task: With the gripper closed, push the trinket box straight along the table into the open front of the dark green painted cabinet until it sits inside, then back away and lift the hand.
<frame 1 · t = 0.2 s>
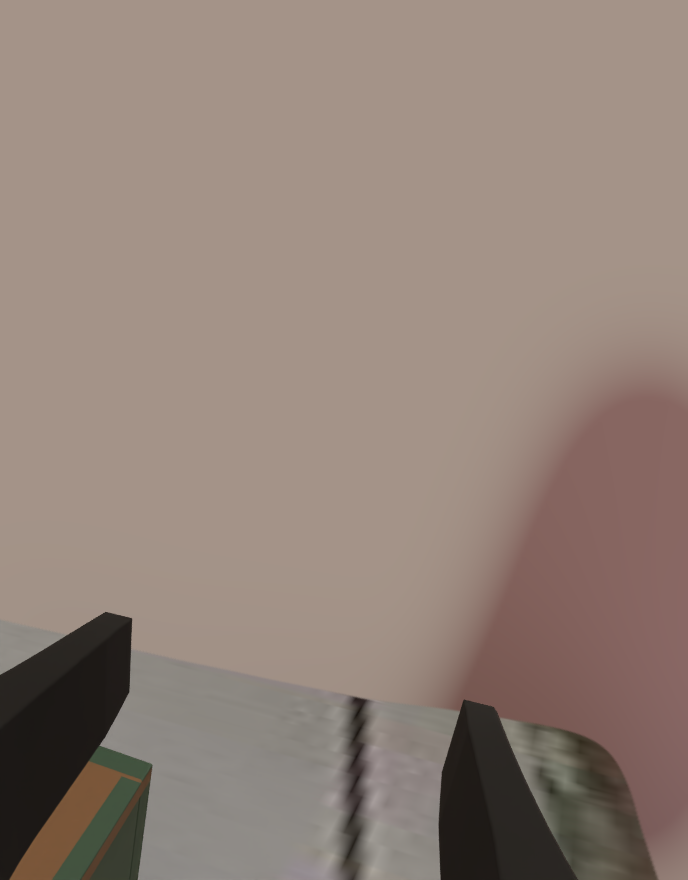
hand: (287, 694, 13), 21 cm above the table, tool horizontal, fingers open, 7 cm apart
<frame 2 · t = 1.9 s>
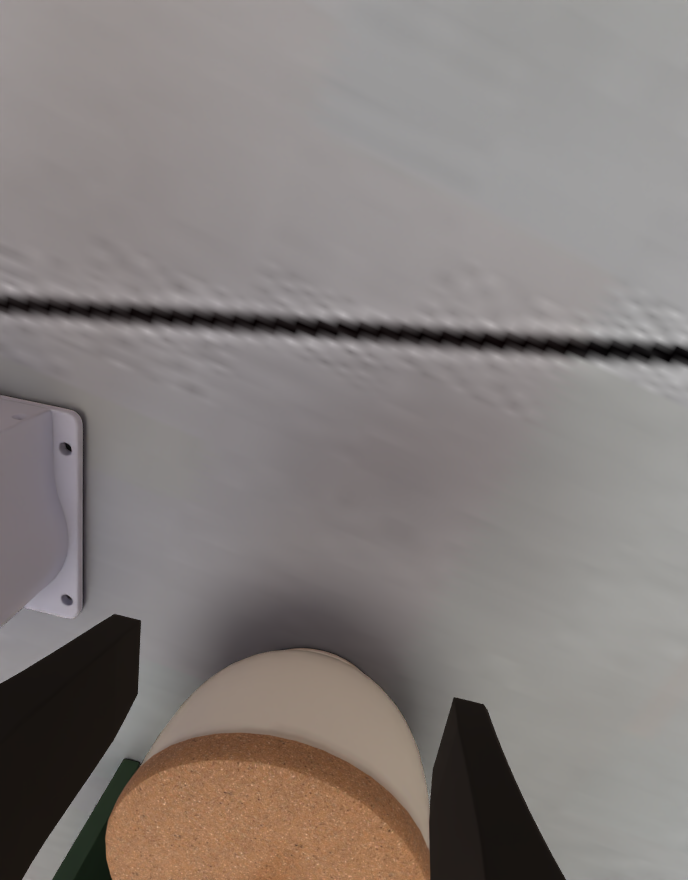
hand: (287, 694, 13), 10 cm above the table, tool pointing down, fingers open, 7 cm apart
trinket box: (312, 702, 26), on the table
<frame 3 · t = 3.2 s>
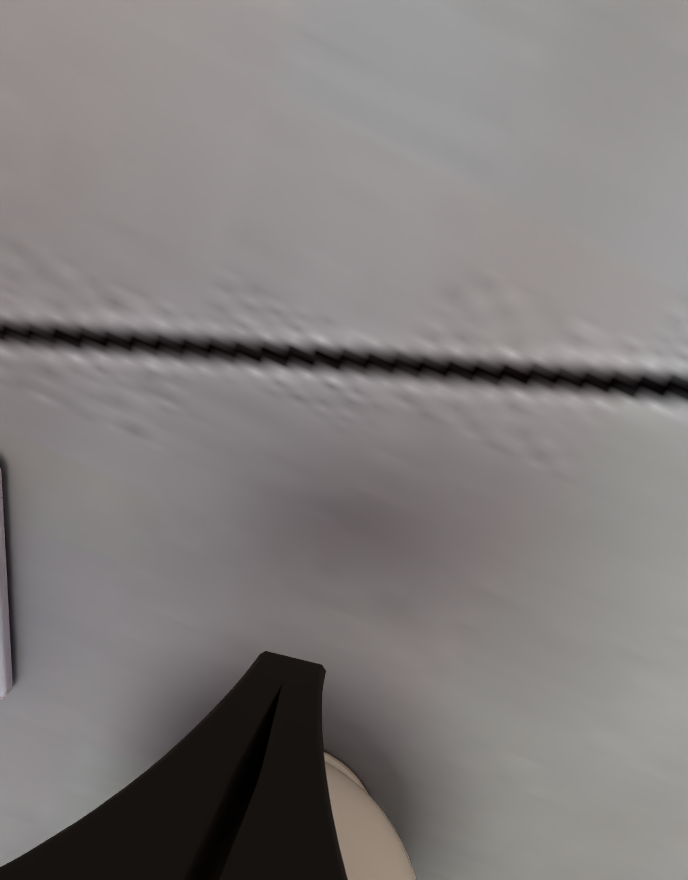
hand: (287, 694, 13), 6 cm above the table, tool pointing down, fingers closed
trinket box: (290, 799, 22), on the table
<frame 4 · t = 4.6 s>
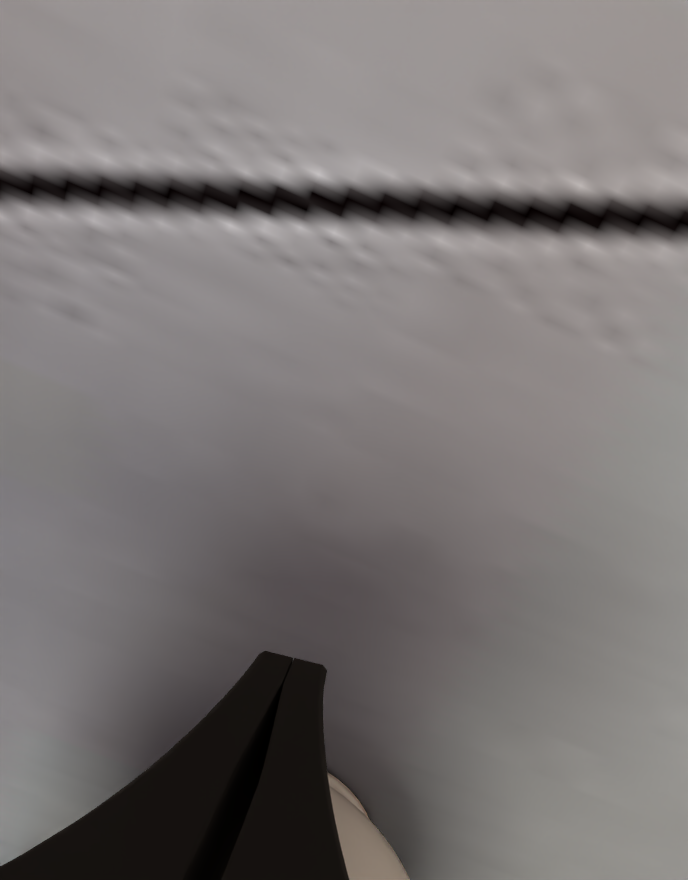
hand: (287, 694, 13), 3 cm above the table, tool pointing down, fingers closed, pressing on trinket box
trinket box: (274, 820, 18), on the table, touching gripper
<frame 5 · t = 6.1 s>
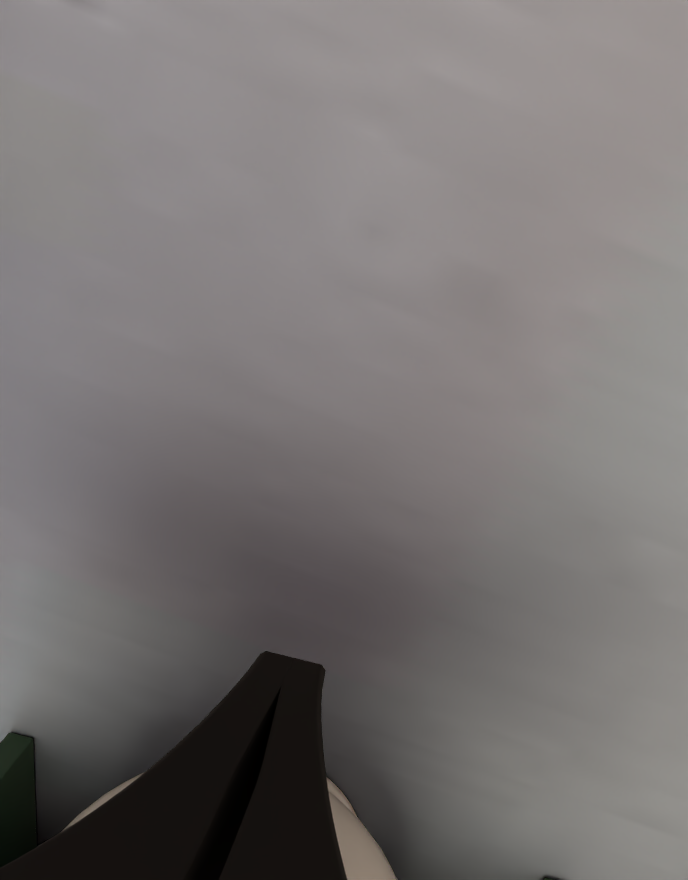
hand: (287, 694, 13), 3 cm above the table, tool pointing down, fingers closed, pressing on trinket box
trinket box: (262, 817, 18), on the table, touching gripper
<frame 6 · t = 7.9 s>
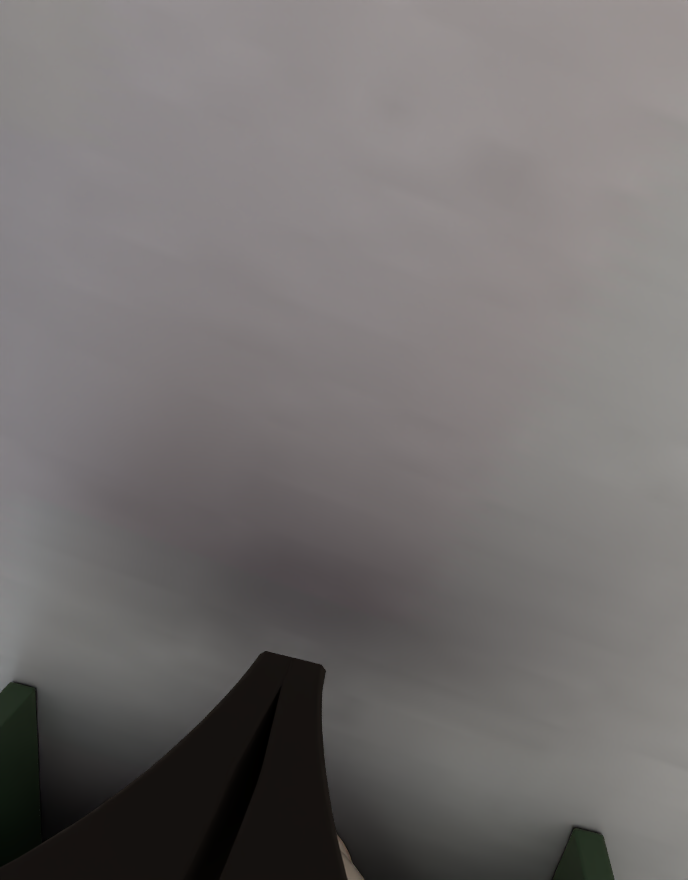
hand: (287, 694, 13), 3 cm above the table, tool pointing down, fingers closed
trinket box: (258, 853, 19), resting in cabinet
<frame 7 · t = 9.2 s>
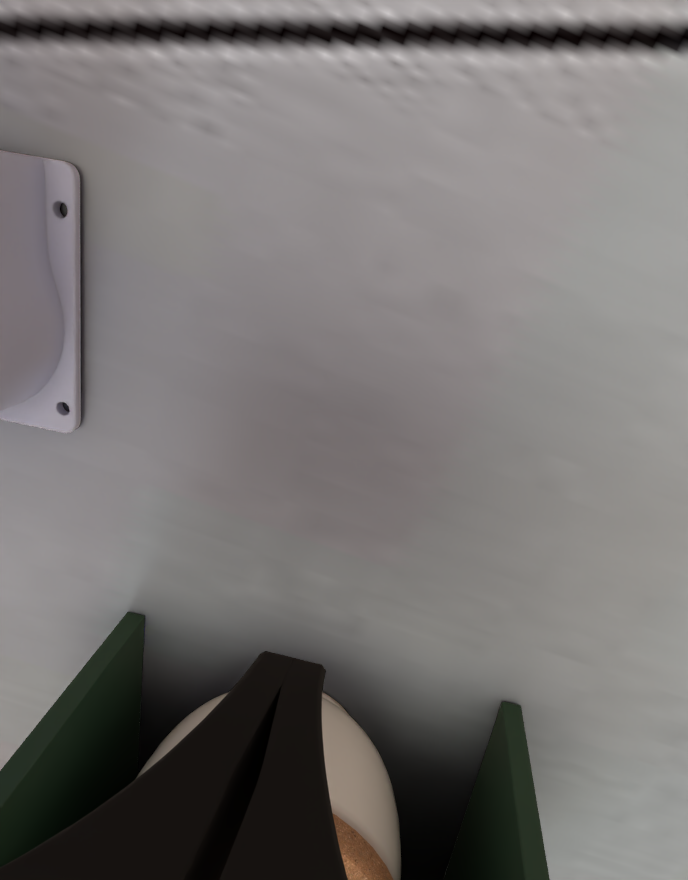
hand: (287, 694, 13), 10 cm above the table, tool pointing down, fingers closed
cabinet: (300, 760, 27), on the table
trinket box: (292, 731, 27), resting in cabinet
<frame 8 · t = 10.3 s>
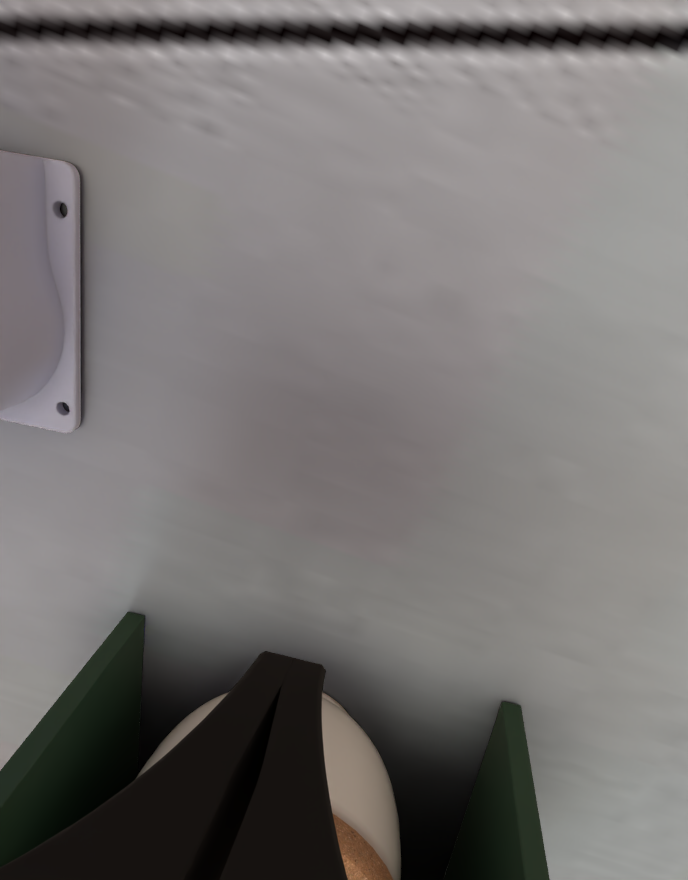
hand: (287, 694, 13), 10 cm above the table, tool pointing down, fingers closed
cabinet: (300, 760, 27), on the table
trinket box: (292, 731, 27), resting in cabinet
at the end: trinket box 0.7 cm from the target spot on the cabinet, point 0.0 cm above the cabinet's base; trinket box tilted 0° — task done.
